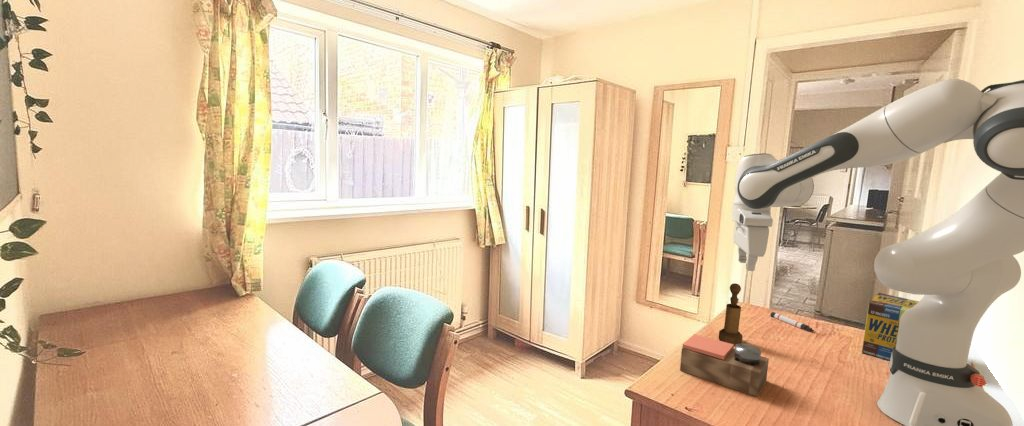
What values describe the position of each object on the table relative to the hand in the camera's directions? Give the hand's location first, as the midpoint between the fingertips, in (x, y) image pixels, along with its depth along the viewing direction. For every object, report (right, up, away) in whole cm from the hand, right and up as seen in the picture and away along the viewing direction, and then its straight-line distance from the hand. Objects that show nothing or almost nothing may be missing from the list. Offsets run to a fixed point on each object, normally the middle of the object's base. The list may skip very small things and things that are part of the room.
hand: (745, 266), depth 116 cm
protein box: (+48, -27, +11) cm, 56 cm away
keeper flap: (-12, -21, -4) cm, 24 cm away
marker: (+33, -24, +31) cm, 51 cm away
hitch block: (-9, -27, -5) cm, 29 cm away
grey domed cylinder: (-5, -27, -9) cm, 29 cm away
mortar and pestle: (+4, -25, +16) cm, 30 cm away
